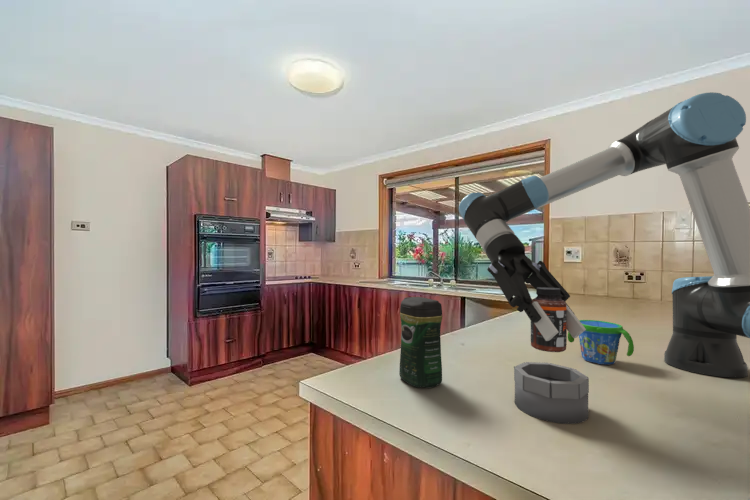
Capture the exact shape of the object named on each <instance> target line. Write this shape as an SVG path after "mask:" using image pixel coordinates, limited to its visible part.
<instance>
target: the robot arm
mask: <svg viewBox="0 0 750 500" xmlns="http://www.w3.org/2000/svg"><path fill="white" fill-rule="evenodd" d="M746 123H747V115H746V111H745V109H744V107H743V106H742V104H741V103H740V102H739V101H738V100H737V99H735V98H733V97H732V96H730V95H724V94H722V93H720V92H703V93H699V94H697V95H696V94H695V95H694V96H691V97H688V98H687V99H685V100H683V101H680V102H678V103H676V104H675V105H674V106H672V107H670V108H669V109H667V110H666V111H664V112H663V113H661V114H660V115H658V116H656V117H654V118H653V119H651V120H649V121H647V122H646V123H645V124H643V125H642V126H640V127H638V128H637V129H636V130H634V131H633V132H630V133H629V134H627V135H625V136H624V137H622V138H620V139H618V140H616V141H613V142H611V143H610V144H609V145H608V147H607V148H606V149H605V150H602V151H599V152H597V153H595V154H592V155H590V156H587V157H586V158H583V159H580V160H578V161H576V162H574V163H571V164H569V165H567V166H565V167H562V168H560V169H556V170H555V171H552V172H550V173H548V174H545V175H543V176H540V177H539V176H537V175H531V176H529V177H526V178H523V179H521V180H519V181H517V182H516V183H513V184H511V185H509V186H507V187H505V188H503V189H500V190H499V191H497V192H494V193H492V194H490V195H489V194H488V195H485V194H484V193H482V192H478V191H477V192H471V193H468V194H467V195H465V196H464V197H463V198H462V199H461V201H460V202H459V205H458V213H459V215H460V216H461V218H462V220H463V223H464V224H465V226H467V228H468V229H469V231H470V232H471V234H472V235H473V236H474V238H475V240H476V241H477V243H479V245H480V247H481V248H482V250H483V252H484V253H485V255H486V256H487V258H488V259H489V261H490V264H489V266H488V268H486V270H487V271H488V273H490V275H491V276H492V277H493V278H494V279H495V282H496V283H497V285H498V287H499V288H500V290H501V292H502V293H503V295H504V297H505V299H506V301H507V302H508V304H509V305H510V307H512V308H516V307H517V308H516V310H517V311H518V312H519V313H523V312H524V313H525V314H526V316H527V317H528V318H529V320H530V322H531V321H532V322H533V323H534V324H535V325H536V327H537V328H538V330H539V331H540V333H541V334H542V336H543V337H544V339H545V340H546V341H549V340H551V339H552V338H553V337H554V336H555V335H556V334H557V333H558V330H557V329H556V327H555V326H554V325H553V323H552V322H551V320H550V319H549V318H548V316H547V315H546V313H545V312H544V311H543V309H542V308H541V306H540V305H539V304H538V302H537V301H535V302H533V303H531V302H532V300H533V298H532V297H531V294H530V291H529V290H528V287H527V286H528V284H529V285H531V286H532V287H533V289H535V290H536V288H537V287H551V288H560V292H561V295H560V297H561V298H562V300H563V301H565V303H566V309H567V333H568V332H569V333H570V334H571V336H572V337H573V338H574V339H576V338H579V335H580V334H581V333H583V332H584V331H585V330H586V329H585V327H584V326H583V325H582V323H581V322H580V321H579V320H580V319H578V317H577V316H576V314H575V312H574V311H573V310H572V309H571V307H570V306H569V305H568V303H567V302H566V301H567V300H568V299H570V298H571V295H570V294H569V292H567V290H566V289H565V288H564V287H563V286H562V284H561V283H560V282H559V281H558V280H557V279H556V277H555V276H554V275H553V274H552V272H550V270H549V269H548V268H547V267H546V264H545V262H544V261H542V260H539V261H538V262H534V261H533V260H532V259H531V258H529V257H528V256H527V255H526V248H525V244H524V243H523V242H522V240H521V239H520V238H519V236H517V235H516V233H515V232H514V230H513V229H512V228H511V226H509V224H508V223H507V222H510V221H511V220H513V219H516V218H518V217H520V216H523V215H525V214H527V213H530V212H532V211H534V210H538V209H539V208H541V207H544V206H546V205H549V204H552V203H553V202H557V201H559V200H562V199H564V198H566V197H569V196H571V195H573V194H575V193H578V192H581V191H584V190H586V189H588V188H590V187H594V186H596V185H598V184H601V183H603V182H605V181H608V180H610V179H613V178H615V177H618V176H621V177H627V176H630V175H633V174H635V173H638V172H641V171H645V170H648V169H651V168H656V167H660V166H663V165H665V166H666V168H667V171H668V172H671V173H675V174H677V175H678V176H679V178H680V181H681V183H682V184H681V185H682V186H683V190H684V192H685V195H686V197H687V201H688V204H689V206H690V207H689V208H690V210H691V212H692V214H693V217H694V220H695V224H696V226H697V229H698V232H699V235H700V237H701V240H702V243H703V246H704V250H705V251H706V252H705V253H706V254H707V257H708V260H709V263H710V266H711V269H712V272H713V275H712V276H709V275H708V276H706V275H705V276H688V277H686V276H684V277H679V278H676V279H674V281H673V283H672V289H671V295H672V333H671V334H672V335H671V337H670V339H669V341H668V344H667V347H666V350H665V351H664V354H663V355H664V357H663V358H664V359H663V360H664V362H665V363H666V364H667V365H668V366H672V367H675V368H676V369H681V370H684V371H686V372H687V371H688V372H691V373H696V374H701V375H707V376H714V377H720V378H721V377H722V378H731V379H732V378H746V377H748V374H749V370H748V368H749V366H748V364H747V362H745V359H744V356H743V354H742V351H741V349H740V346H739V343H738V341H737V336H740V337H743V338H748V339H750V204H749V202H748V199H747V197H746V194H745V193H746V192H745V191H744V188H743V186H742V184H741V180H740V178H739V174H738V172H737V169H736V167H735V164H734V161H733V157H734V156H735V154H737V152H738V151H739V149H740V146H739V143H738V141H737V138H738V136H739V135H740V134H741V133H742V132H743V130H744V127H745V125H746Z"/></svg>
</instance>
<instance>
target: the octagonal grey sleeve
mask: <svg viewBox="0 0 750 500" xmlns="http://www.w3.org/2000/svg"><path fill="white" fill-rule="evenodd" d="M513 376H514V377H513V380H514V381H513V382H514V404H515V407H517V409H518V410H519V411H521V412H523V413H525V414H526V415H529V416H531V417H533V418H535V419H538V420H542V421H545V422H551V423H556V424H565V425H573V424H574V425H575V424H580V423H581V424H582V423H583V422H586V421H587V420H588V419H589V393H590V391H589V390H590V385H589V384H590V381H589V380H590V378H589V376H587V375H586V374H584V373H582V372H581V371H579V370H577V369H575V368H572V367H569V366H568V367H567V366H564V365H560V364H556V363H550V362H540V361H539V362H538V361H536V362H534V361H526V362H522V363H519V364H518V365H515V366H513Z"/></svg>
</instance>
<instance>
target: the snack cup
mask: <svg viewBox="0 0 750 500" xmlns="http://www.w3.org/2000/svg"><path fill="white" fill-rule="evenodd" d="M578 320H579V321H580V322H581V323H582V325H583V326H584V327H585V329H586V330H585V331H584V332H583V333H581V334H580V335H579V336H578V341H579V345H580V352H581V357H582V358H583V360H584V361H586V362H589V363H595V364H599V365H608V366H610V365H614V364H615V363H616V361H617V356H618V352H619V346H620V340H621V337H622V336H624V338H625V340H626V341H627V343H628V346H627V352H626V356H627V357H630V356H632V355H633V354H634V350H635V344H634V341H633V338H632V336H631V334H630V333H629V332H628V331H627V330H626V329H624V327H623V325H622V324H619V323H616V322H615V323H614V322H610V321H605V320H604V321H603V320H595V319H578ZM567 341H568V342H569V343H574V342H575V338H573V337H572V336H571V334H570V333H569V332H568V331H567Z"/></svg>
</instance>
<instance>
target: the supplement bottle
mask: <svg viewBox="0 0 750 500" xmlns="http://www.w3.org/2000/svg"><path fill="white" fill-rule="evenodd" d="M535 290H536V293H535V294H536V297H535V298H532V302H531V303H533V302H535V301H537V302H538V304H539V305H540V306H541V308H542V309H543V311H544V312H545V313H546V315H547V316H548V318H549V319H550V320H551V322H552V323H553V325H554V326H555V327H556V329H557V330H558V333H557V334H556V335H555V336H554V337H553V338H552V339H551V340H549V341H546V340H545V339H544V337H543V336H542V334H541V333H540V331H539V330H538V328H537V327H536V325H535V324H534V323H533V322H532V321H531V320H530V346H531V347H532V348H534V349H536V350H539V351H542V352H548V353H562V352H565V351H566V350H567V341H568V330H567V309H566V303H567V302H566V301H563V300H562V298H561V297H560V295H561V292H560V288H551V287H537V288H536V289H535ZM565 302H566V303H565Z"/></svg>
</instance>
